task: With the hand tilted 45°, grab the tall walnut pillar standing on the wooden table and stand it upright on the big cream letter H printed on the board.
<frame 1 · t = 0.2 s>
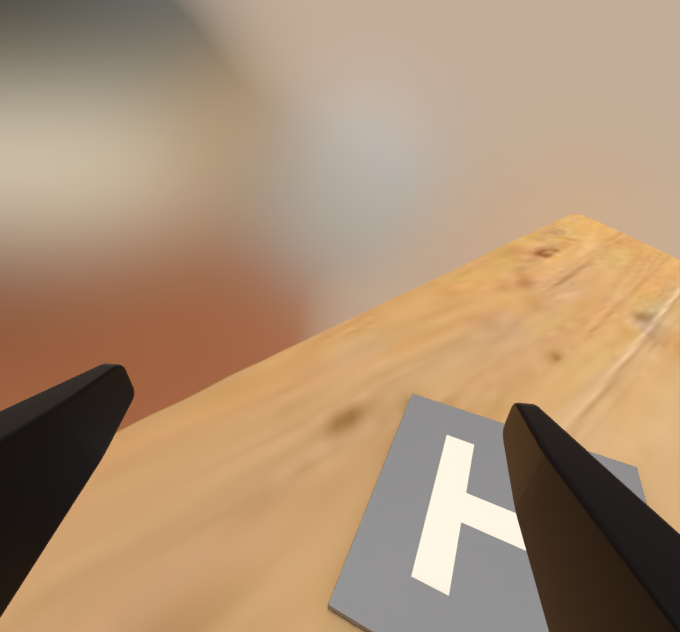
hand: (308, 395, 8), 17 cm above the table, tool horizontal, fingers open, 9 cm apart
letter board: (503, 530, 21), on the table
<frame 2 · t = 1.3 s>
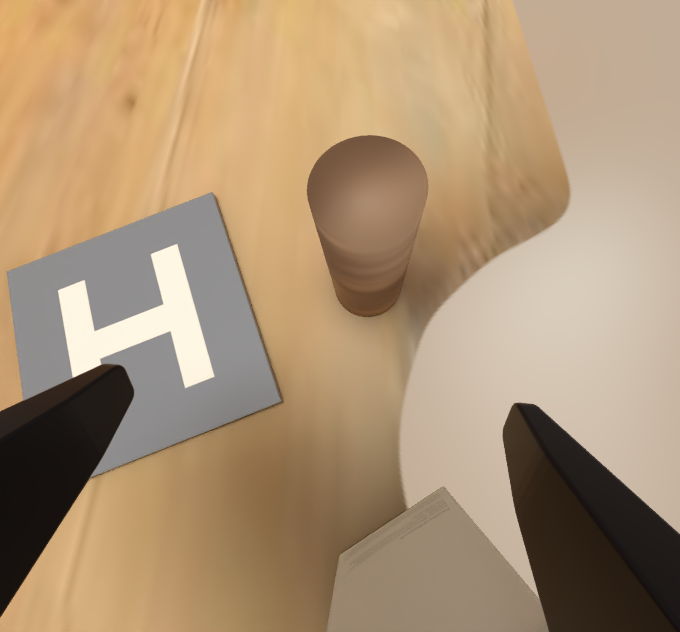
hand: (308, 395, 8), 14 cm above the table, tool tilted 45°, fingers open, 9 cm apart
letter board: (138, 332, 24), on the table
supplement box: (426, 580, 19), on the table
walnut pillar: (367, 285, 23), on the table
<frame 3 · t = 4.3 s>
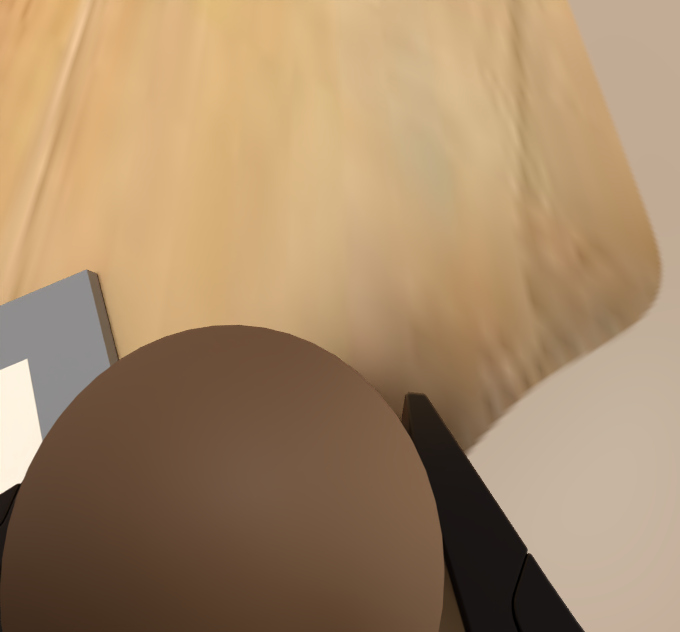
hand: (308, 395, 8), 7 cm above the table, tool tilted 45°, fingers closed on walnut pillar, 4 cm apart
walnut pillar: (332, 428, 14), on the table, touching gripper
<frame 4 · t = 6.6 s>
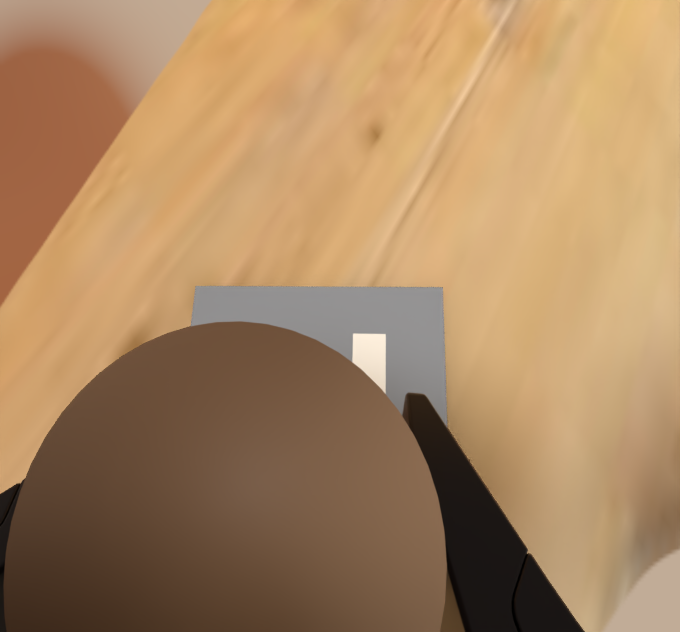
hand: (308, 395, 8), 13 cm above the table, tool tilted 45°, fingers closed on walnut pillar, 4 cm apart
letter board: (310, 415, 21), on the table
walnut pillar: (333, 427, 14), point 7 cm above the table, touching gripper
when the fingers open (8 cm above the table, at t = 8.9 s): walnut pillar stays where it is, resting on letter board.
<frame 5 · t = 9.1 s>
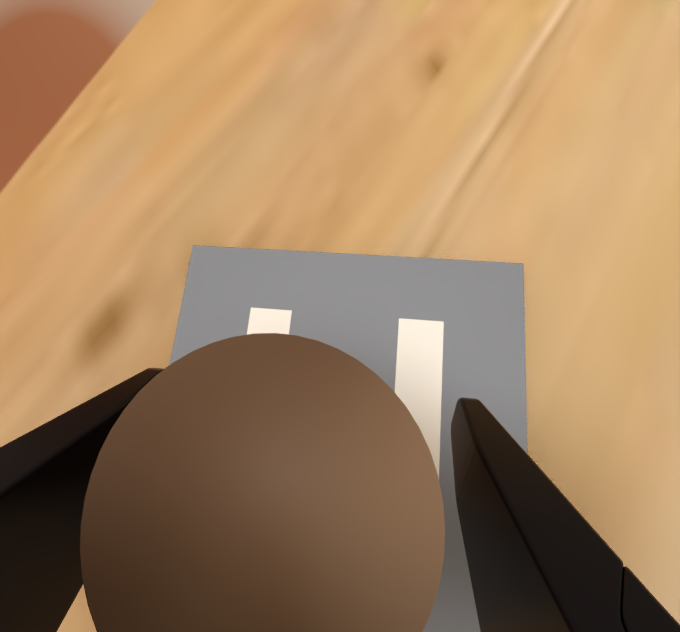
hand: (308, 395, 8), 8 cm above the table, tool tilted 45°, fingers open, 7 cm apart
letter board: (335, 425, 15), on the table
walnut pillar: (333, 427, 15), point 1 cm above the table, touching letter board
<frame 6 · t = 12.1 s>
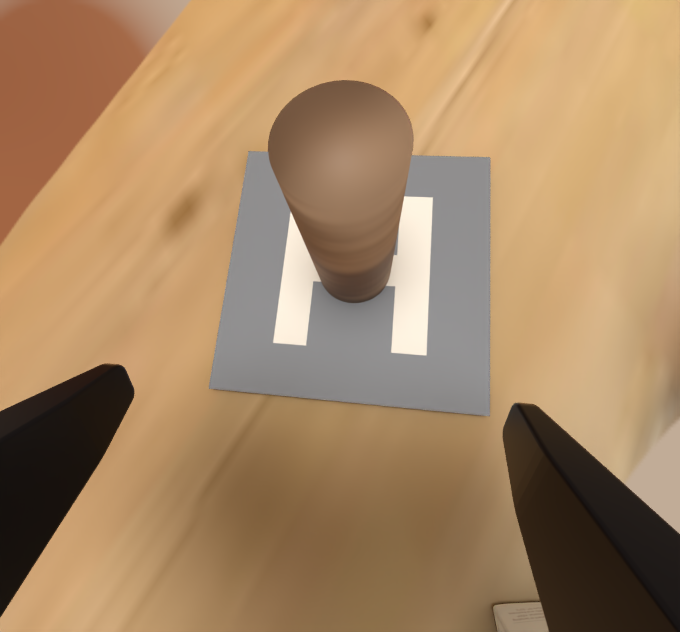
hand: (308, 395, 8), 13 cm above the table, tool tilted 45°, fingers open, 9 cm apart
letter board: (355, 271, 22), on the table
walnut pillar: (354, 268, 21), point 1 cm above the table, touching letter board
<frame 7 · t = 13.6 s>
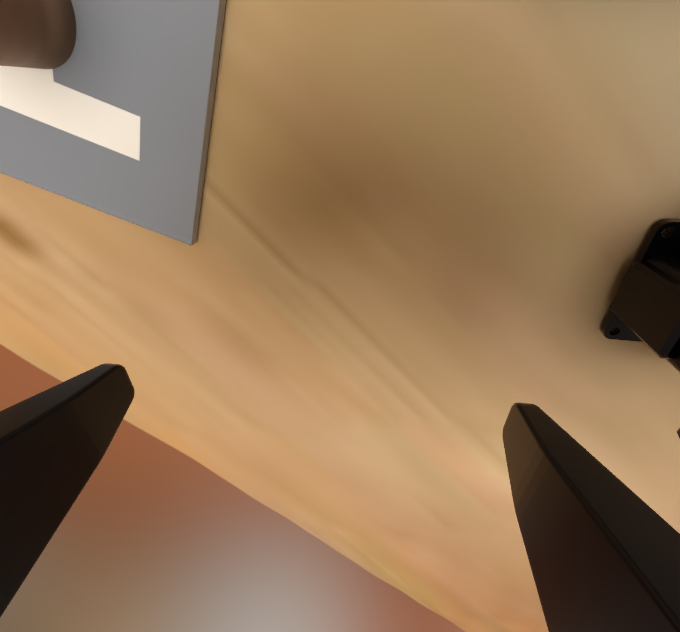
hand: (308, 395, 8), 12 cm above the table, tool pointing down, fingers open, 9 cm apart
letter board: (35, 5, 15), on the table
walnut pillar: (22, 3, 14), point 1 cm above the table, touching letter board
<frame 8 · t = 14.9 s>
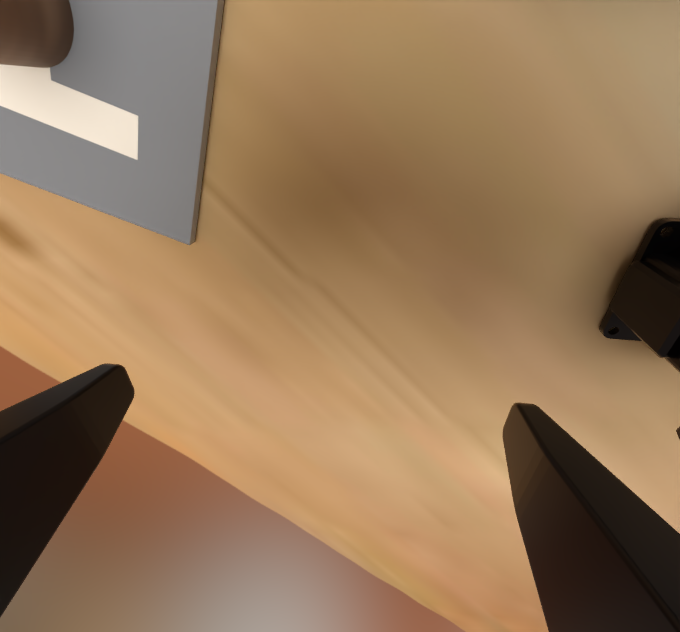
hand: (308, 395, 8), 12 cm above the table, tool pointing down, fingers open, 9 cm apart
letter board: (32, 3, 14), on the table
walnut pillar: (19, 1, 14), point 1 cm above the table, touching letter board
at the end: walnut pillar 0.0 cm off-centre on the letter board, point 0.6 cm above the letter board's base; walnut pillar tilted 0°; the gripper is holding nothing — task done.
